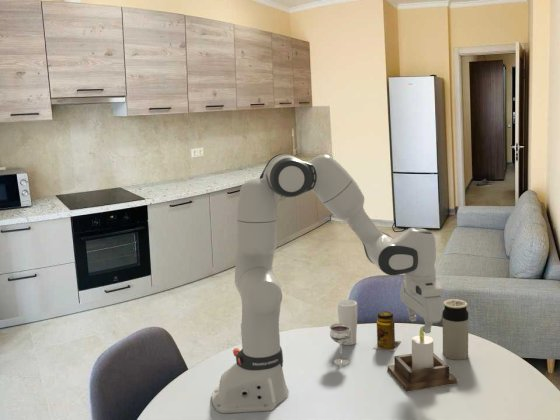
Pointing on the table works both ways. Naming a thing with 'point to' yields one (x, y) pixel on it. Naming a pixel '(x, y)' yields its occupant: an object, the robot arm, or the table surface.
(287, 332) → the table surface
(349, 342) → the drinking glass
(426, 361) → the candle
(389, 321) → the condiment
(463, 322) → the travel mug
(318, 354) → the table surface
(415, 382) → the candle holder
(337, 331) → the wineglass
